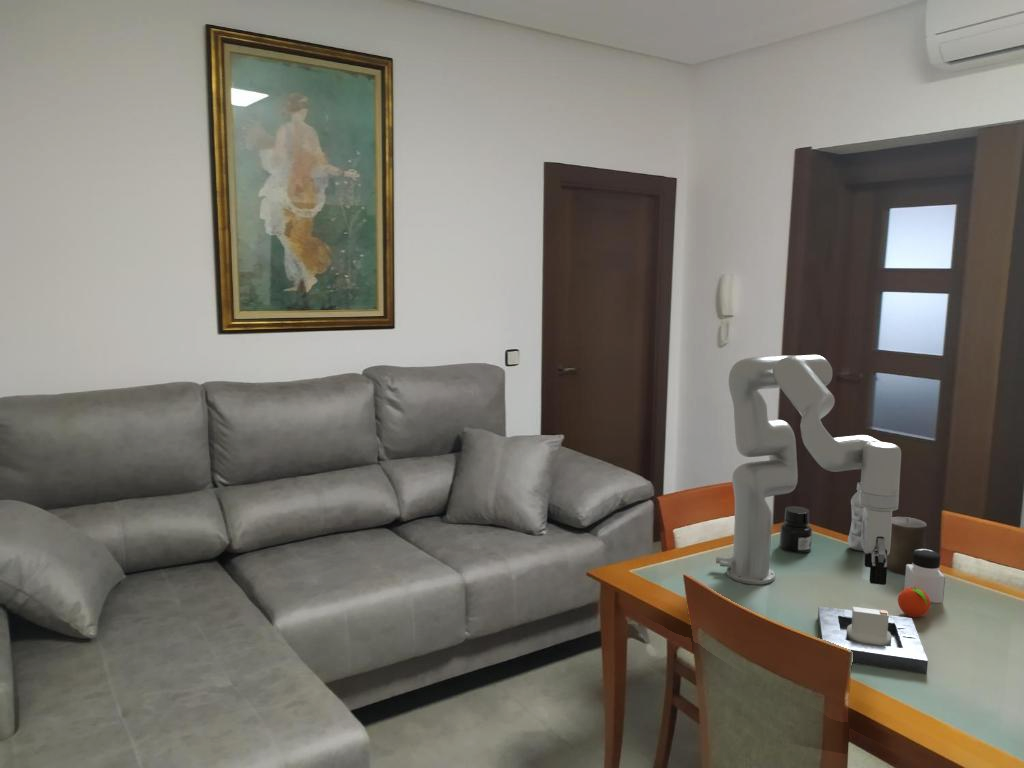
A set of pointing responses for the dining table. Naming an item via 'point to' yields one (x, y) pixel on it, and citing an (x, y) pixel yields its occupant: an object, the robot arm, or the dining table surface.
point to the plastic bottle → (856, 521)
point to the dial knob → (869, 627)
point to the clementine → (914, 602)
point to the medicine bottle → (926, 574)
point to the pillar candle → (905, 542)
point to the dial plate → (897, 656)
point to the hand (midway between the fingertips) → (874, 575)
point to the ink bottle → (796, 530)
